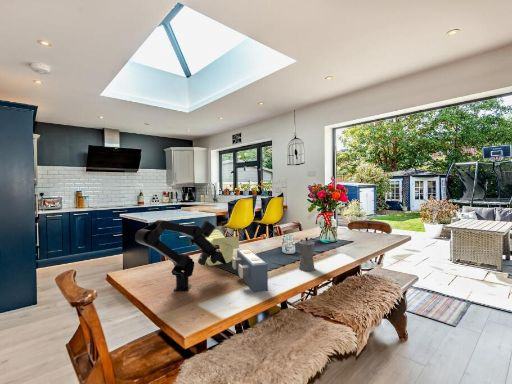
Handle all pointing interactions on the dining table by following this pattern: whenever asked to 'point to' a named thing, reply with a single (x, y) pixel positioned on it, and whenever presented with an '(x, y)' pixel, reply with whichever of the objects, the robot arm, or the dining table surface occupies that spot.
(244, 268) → the button near
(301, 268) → the coffeepot
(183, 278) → the robot arm
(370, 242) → the dining table surface
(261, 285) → the switch box
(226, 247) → the slatted curved stool
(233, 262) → the button far
